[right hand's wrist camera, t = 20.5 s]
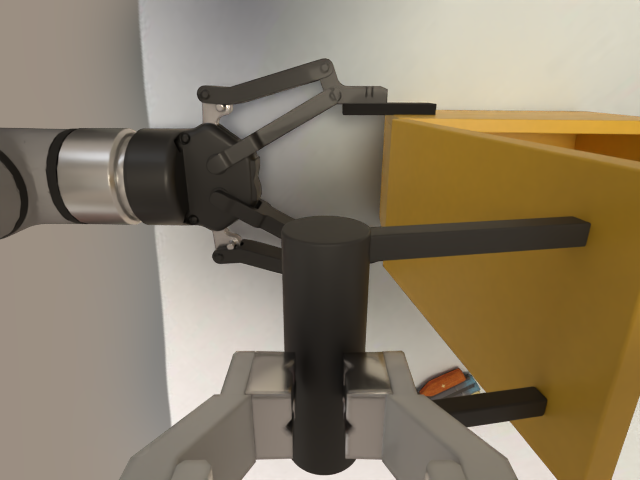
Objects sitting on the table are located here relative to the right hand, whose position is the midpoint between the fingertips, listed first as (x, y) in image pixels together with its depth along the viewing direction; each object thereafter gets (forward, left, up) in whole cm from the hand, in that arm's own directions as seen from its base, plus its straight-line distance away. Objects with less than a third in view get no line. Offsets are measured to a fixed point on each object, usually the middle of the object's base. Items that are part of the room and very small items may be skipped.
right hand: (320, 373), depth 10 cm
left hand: (-4, -6, -23) cm, 25 cm away
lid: (-4, -6, -9) cm, 11 cm away
